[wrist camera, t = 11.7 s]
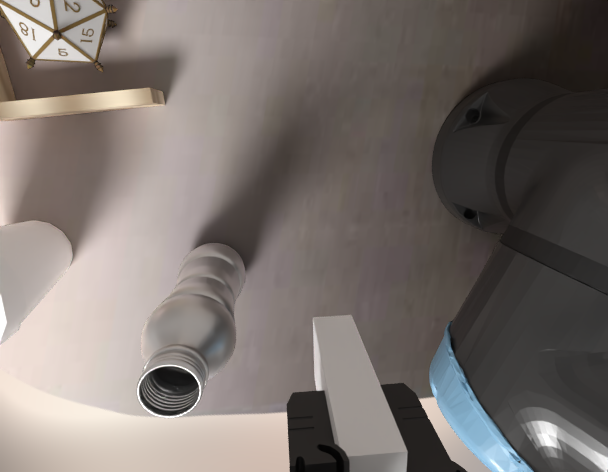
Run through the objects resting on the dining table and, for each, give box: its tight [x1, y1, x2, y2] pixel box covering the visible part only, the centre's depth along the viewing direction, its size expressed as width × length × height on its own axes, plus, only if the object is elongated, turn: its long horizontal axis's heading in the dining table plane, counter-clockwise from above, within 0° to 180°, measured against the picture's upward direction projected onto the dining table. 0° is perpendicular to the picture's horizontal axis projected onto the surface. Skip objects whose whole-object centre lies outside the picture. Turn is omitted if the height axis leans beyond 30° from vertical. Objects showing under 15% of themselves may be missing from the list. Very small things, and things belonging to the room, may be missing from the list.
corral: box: [0, 47, 165, 121], centre depth 32 cm, size 14×15×4 cm
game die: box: [0, 0, 118, 72], centre depth 30 cm, size 9×8×10 cm
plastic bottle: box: [137, 243, 246, 418], centre depth 31 cm, size 6×7×20 cm
